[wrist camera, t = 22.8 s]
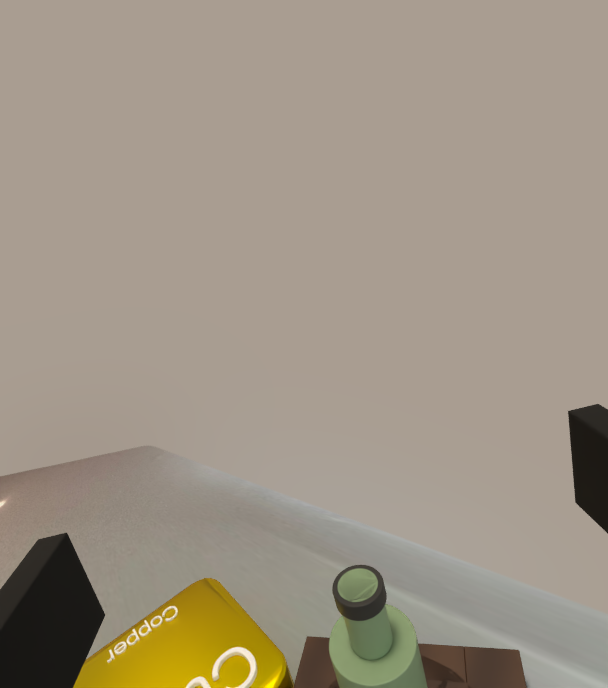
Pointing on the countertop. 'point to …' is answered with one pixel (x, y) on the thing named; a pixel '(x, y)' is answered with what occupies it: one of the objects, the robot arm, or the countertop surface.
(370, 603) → the bottle
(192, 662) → the element tile
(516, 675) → the hole board
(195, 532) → the countertop surface
